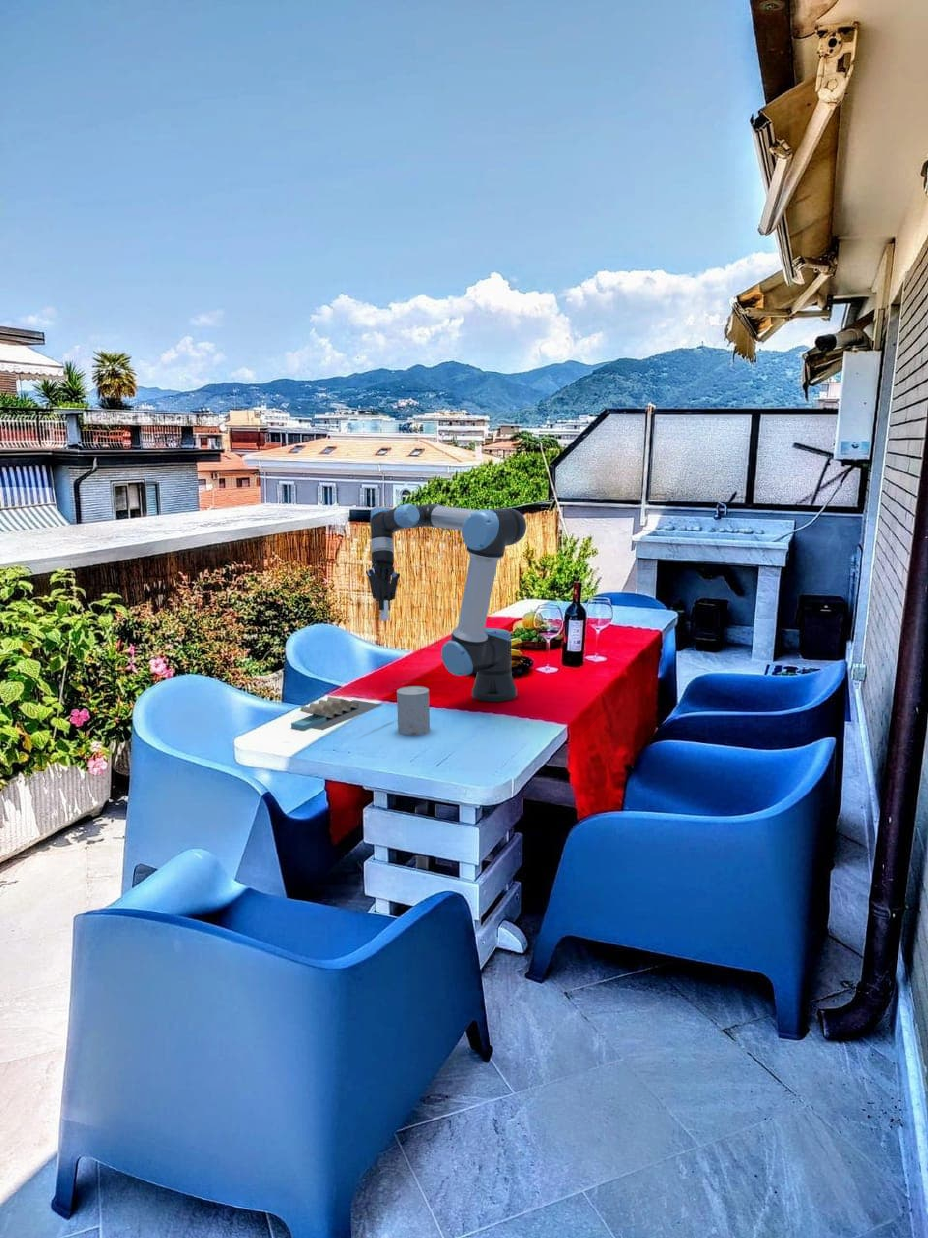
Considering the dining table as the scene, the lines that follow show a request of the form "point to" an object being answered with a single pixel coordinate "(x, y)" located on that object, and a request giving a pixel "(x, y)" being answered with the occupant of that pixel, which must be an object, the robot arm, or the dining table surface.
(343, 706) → the domino
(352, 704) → the domino
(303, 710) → the domino
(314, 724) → the domino
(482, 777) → the dining table surface
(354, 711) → the mat
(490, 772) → the dining table surface
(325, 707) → the domino
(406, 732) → the grey flat-topped cylinder
